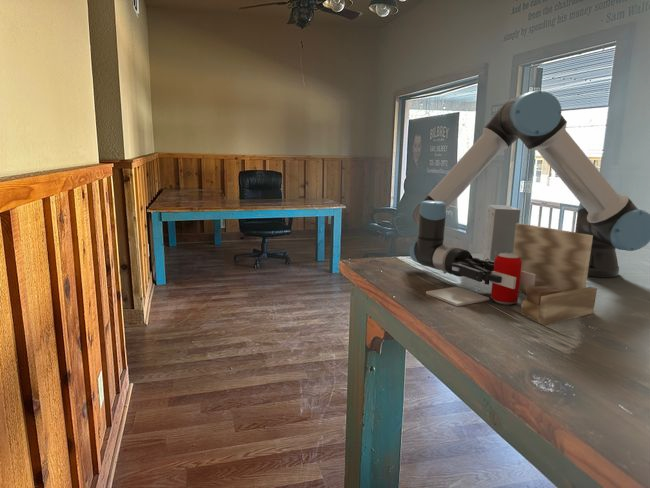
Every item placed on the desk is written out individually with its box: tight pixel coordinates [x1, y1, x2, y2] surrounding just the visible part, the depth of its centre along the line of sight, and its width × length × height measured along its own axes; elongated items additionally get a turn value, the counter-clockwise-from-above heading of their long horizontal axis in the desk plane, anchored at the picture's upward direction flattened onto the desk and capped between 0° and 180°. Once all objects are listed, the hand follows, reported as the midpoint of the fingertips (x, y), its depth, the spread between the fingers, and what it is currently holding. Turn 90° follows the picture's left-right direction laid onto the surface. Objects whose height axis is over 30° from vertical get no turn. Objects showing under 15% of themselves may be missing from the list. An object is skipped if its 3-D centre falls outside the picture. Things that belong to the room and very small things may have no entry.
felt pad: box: [425, 286, 490, 307], centre depth 115 cm, size 11×11×1 cm
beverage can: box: [490, 253, 522, 306], centre depth 111 cm, size 6×6×12 cm
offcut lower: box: [520, 299, 540, 321], centre depth 103 cm, size 5×7×4 cm
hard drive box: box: [482, 204, 521, 261], centre depth 147 cm, size 16×8×20 cm, turn 168°
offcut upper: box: [525, 286, 562, 305], centre depth 103 cm, size 4×6×3 cm, turn 105°
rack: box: [513, 222, 598, 326], centre depth 110 cm, size 23×18×18 cm
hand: (524, 281), depth 107 cm, fingers closed on beverage can, 6 cm apart
